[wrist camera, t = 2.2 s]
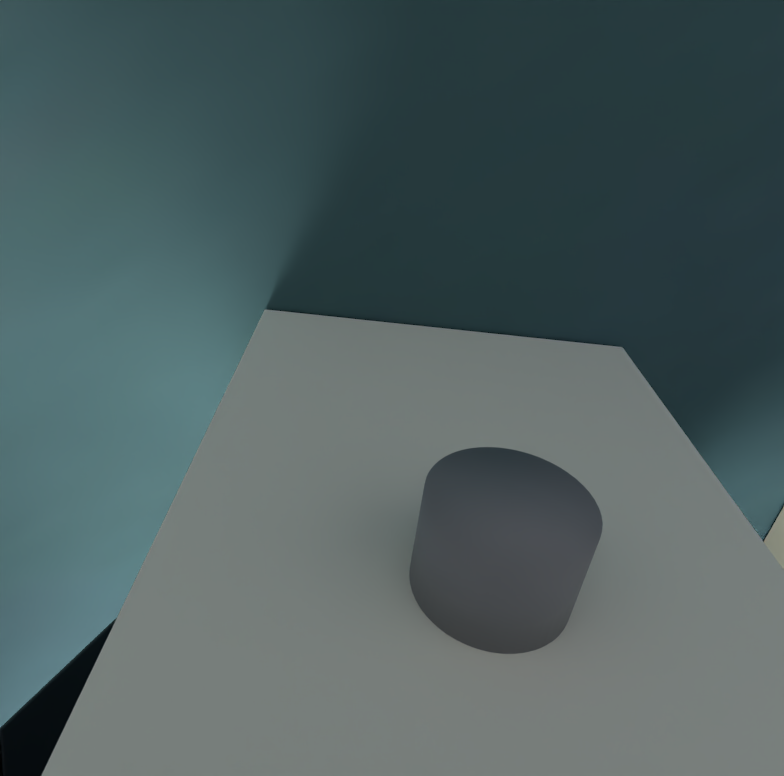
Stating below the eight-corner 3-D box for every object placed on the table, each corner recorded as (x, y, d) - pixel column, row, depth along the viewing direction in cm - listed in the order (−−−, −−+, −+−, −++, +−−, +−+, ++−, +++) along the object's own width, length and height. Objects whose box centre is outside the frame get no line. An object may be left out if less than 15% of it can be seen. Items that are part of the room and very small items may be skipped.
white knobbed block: (527, 628, 12) (650, 1194, 6) (262, 607, 11) (129, 1177, 6) (640, 293, 8) (1190, 877, 2) (264, 252, 8) (-66, 796, 2)
